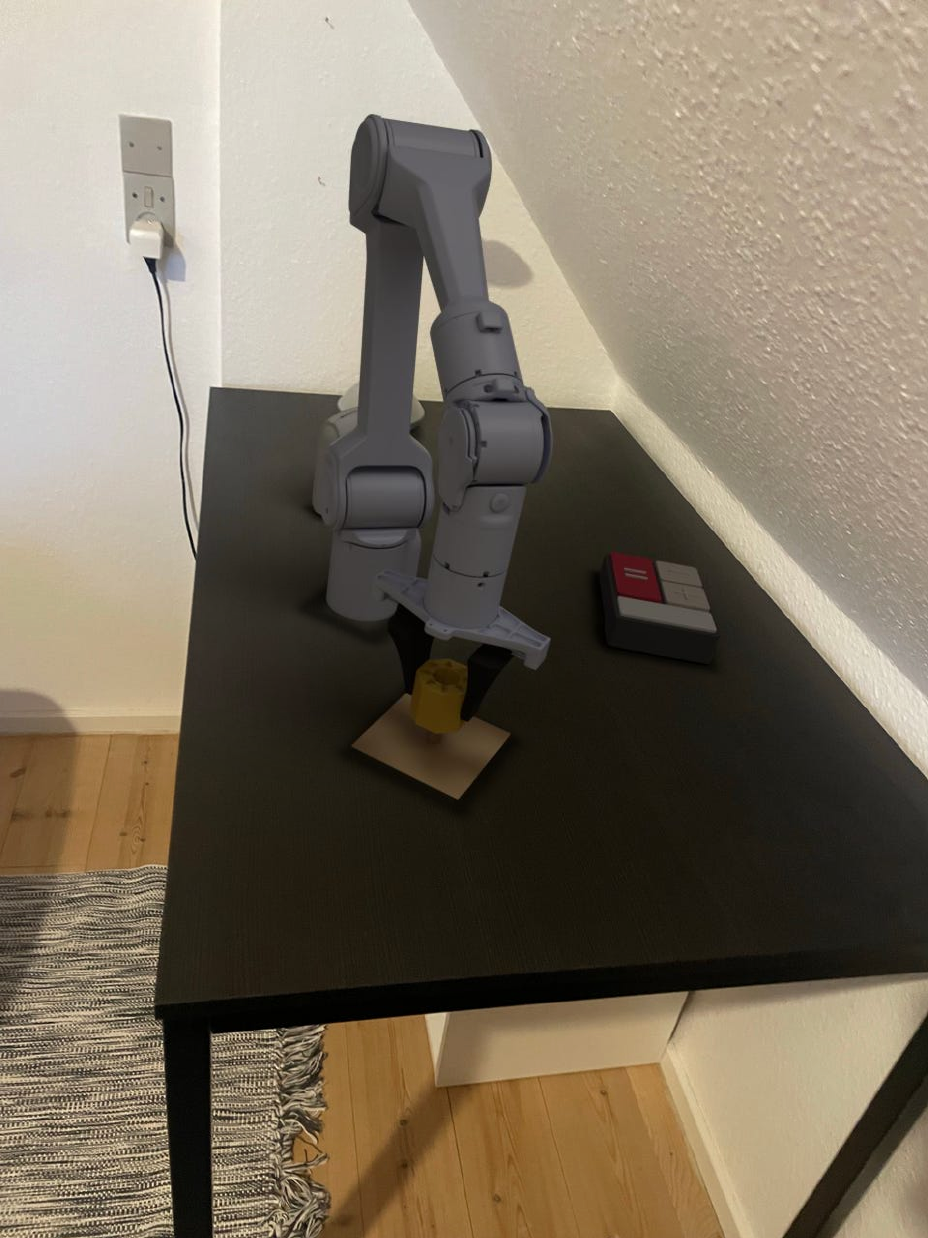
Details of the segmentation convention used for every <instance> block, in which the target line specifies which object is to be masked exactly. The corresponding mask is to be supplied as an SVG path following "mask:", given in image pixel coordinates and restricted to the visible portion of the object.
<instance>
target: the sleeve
mask: <svg viewBox="0 0 928 1238" xmlns="http://www.w3.org/2000/svg"><path fill="white" fill-rule="evenodd" d="M467 676H468V669H467V666H466V665H464V664H462V663H460V662H459V661H458V662H457V661H455V660H453V659H451V658H441V659H439V658H438V659H437V658H435V659H429V660H427V661H426V662H425V663H424V664H423V665H422V666H421V667H420V668H419V669H418V670H417V671H416V675H415V681H414V686H413V692H412V697H411V703H410V708H409V709H410V712H411V714H412V717H413V719H414V722H415V724H417V725H419V726H421V727H423V728H425V729H427V730H429V731H431V732H434V733H436V734H438V733H452V732H458V731H459V730H460V729H461V728H462V727H463V726H464V724H465V723H466V721H464V720H462V719H460V714H461V708H462V704H463V701H464V697H465V693H466V688H467Z"/></svg>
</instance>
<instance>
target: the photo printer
mask: <svg viewBox="0 0 928 1238" xmlns="http://www.w3.org/2000/svg"><path fill="white" fill-rule="evenodd" d="M357 415H358V405H357V406H353V407H349V408H347V409H344V410H342V411H338V412H337V413H335V414H333V415H332V416H330V417H328V418H327V419H325V420H324V421H323V422H322V423H321V426H320V427H319V431H318V440H317V441H318V442H317V450H316V460H315V468H314V478H313V488H312V499H311V500H312V501H311V502H312V503H311V504H312V506H313V509H314V511H315V512H316V513H317V514H318V515H320V516H321V512H320V505H319V483H320V477H321V474H322V472H323V466H324V457H325V452H326V449H327V447H328V446H329V445H330V444H331V443H333V442H334V441H336V440H337V439H339V438H340V437H342V436H343V435H345V434H346V433H347V432H349V431H350V430H352V429H353V428H354V427H355V426H356V425H357Z"/></svg>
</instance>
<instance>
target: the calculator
mask: <svg viewBox="0 0 928 1238" xmlns="http://www.w3.org/2000/svg"><path fill="white" fill-rule="evenodd" d="M598 577H599V586H600V591H601V597H602V598H601V599H602V604H603V611H604V619H605V620H604V631H605V639H606V644H607V646H609V647H611V648H617V649H622V650H628V651H634V652H637V653H644V654H650V655H655V656H660V657H665V658H666V657H667V658H671V659H677V660H682V661H687V662H693V663H699V664H704V665H710V664H711V663H712V660H713V657H714V655H715V652H716V649H717V646H718V644H719V641H720V638H721V633H720V630H719V627H718V625H717V622H716V621H717V620H716V619H715V616H714V613H713V610H712V606H711V605H710V602H709V598H708V596H707V593H706V591H705V588H704V584H703V581H702V579H701V576H700V573H699V572H698V569H697V568H696V567H694V566H690V565H684V564H680V563H679V564H678V563H674V562H669V561H662V560H655V562H652V559H650V558H646V557H642V556H636V555H631V554H625V553H622V552H621V553H620V552H614V551H610V554H609V553H606V554H605V555H604V558H603V561H602V565H601V568H600V572H599V576H598Z"/></svg>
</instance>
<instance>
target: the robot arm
mask: <svg viewBox="0 0 928 1238" xmlns="http://www.w3.org/2000/svg"><path fill="white" fill-rule="evenodd" d="M492 157H493V156H492V151H491V147H490V144H489V142H488V141H487V138H486V136H485V134H484V132H482V131H481V130H479V129H473V128H470V129H469V130H467V129H458V128H452V127H446V126H441V125H440V126H439V125H433V124H425V123H419V122H413V121H407V120H399V119H393V118H388V117H387V118H386V117H382V116H381V115H378V114H375V113H370V114H368V115H367V116H366V117H365V118H364V119H363V121H361V123H360V124H359V126H358V128H357V129H356V132H355V137H354V140H353V143H352V145H351V151H350V163H349V164H350V165H349V181H348V182H349V183H348V186H349V187H348V203H347V205H348V206H347V207H348V211H349V217H348V218H349V219H348V220H349V224H350V226H352V227H354V228H355V229H357V230H358V231H360V232H361V233H362V234H364V235H365V251H366V252H365V253H366V255H365V257H366V260H365V261H366V263H365V279H364V295H363V312H362V314H363V315H362V330H361V331H362V332H361V346H360V364H359V365H360V366H359V381H358V382H359V383H358V398H357V399H358V400H357V406H358V415H357V425H356V426H355V427H354V428H353V429H352V430H350V431H349V432H347V433H346V434H345V435H343V436H342V437H340V438H339V439H337V440H336V441H334V442H333V443H331V444H330V445H329V446H328V447H327V449H326V452H325V457H324V466H323V472H322V474H321V477H320V483H319V505H320V512H321V515H320V516H321V520H322V521H323V523H324V524H325V526H326V527H327V528H328V529H329V530H330V532H332V542H331V550H330V558H329V559H330V560H329V568H328V577H327V587H326V594H325V600H326V604H327V606H328V607H329V608H330V609H331V610H332V611H333V612H335V613H336V614H338V615H340V616H342V617H343V618H345V619H346V618H347V619H350V620H353V621H358V622H359V621H360V622H377V621H381V620H385V619H387V618H389V619H388V620H387V628H386V629H387V632H388V634H389V636H390V637H391V639H392V641H393V643H394V646H395V648H396V650H397V654H398V656H399V661H400V664H401V670H402V676H403V677H402V678H403V685H404V694H405V693H407V694H409V695H411V696H412V692H413V686H414V681H415V675H416V671H417V670H418V669H419V668H420V667H421V666H422V665H423V664H424V663H425V662H426V661H427V660H431V653H432V647H433V643H434V640H435V638H436V639H439V640H440V641H449V640H450V639H452V638H457V639H462V640H467V641H472V642H476V643H481V644H482V645H480V646H479V647H477V649H476V650H475V651H474V652H473V653H472V654H471V655H470V656H469V657H467V660H466V665H467V669H468V676H467V688H466V693H465V697H464V701H463V704H462V708H461V714H460V719H462V720H464V721H466V722H469V721H470V719H471V718H472V717H473V716H474V717H475V715H476V714H477V713H478V711H479V710H480V708H481V705H482V703H483V701H484V698H485V697H486V695H487V693H488V691H489V690H490V687H491V686H492V685H493V683H494V682H495V680H496V679H497V677H498V676H499V674H501V672H502V671H503V669H504V668H505V667H506V666H507V665H508V664H509V663H510V662H511V660H512V659H513V658H514V657H517V658H519V659H521V660H523V665H524V666H525V667H527V668H529V669H531V670H534V671H536V670H538V668H539V667H540V666H541V665H542V664H543V663H544V661H545V660H546V658H547V654H548V651H549V647H550V644H551V637H549V636H546V635H544V634H542V633H540V632H539V631H537V630H535V629H534V628H532V627H531V626H529V625H528V624H526V623H525V622H524V621H522V620H521V619H519V617H517V616H515V615H513V614H512V613H511V612H510V611H508V610H506V609H505V608H504V607H503V606H501V605H500V604H501V600H502V596H503V595H502V594H503V591H504V587H505V582H506V579H507V574H508V569H509V565H510V560H511V557H512V552H513V549H514V544H515V539H516V534H517V531H518V526H519V522H520V518H521V514H522V510H523V506H524V501H525V497H526V493H527V489H528V488H527V485H529V484H531V485H535V484H538V483H539V482H541V481H542V480H543V479H544V477H545V476H546V474H547V472H548V470H549V468H550V464H551V461H552V456H553V446H554V445H553V444H554V438H553V429H552V423H551V422H552V421H551V415H550V413H549V411H548V408H547V407H546V406H545V404H544V403H543V402H542V401H541V400H539V399H538V397H537V396H536V392H535V389H533V388H532V386H527V385H525V383H524V380H523V379H524V378H523V374H522V370H521V367H520V362H519V357H518V353H517V349H516V344H515V340H514V335H513V331H512V330H513V329H512V326H511V322H510V319H509V315H508V313H507V311H506V309H504V307H502V306H500V304H497V303H495V302H493V301H491V300H490V297H489V288H488V280H487V273H486V272H487V271H486V265H485V264H486V263H485V256H484V249H483V248H484V247H483V241H482V240H483V239H482V234H481V232H482V231H481V225H480V218H481V216H482V213H483V210H484V208H485V204H486V201H487V198H488V194H489V190H490V187H491V181H492V176H493V175H492V174H493V173H492V172H493V158H492ZM424 261H425V265H426V268H427V271H428V274H429V277H430V280H431V281H430V282H431V285H432V288H433V291H434V294H435V297H436V301H437V304H438V307H439V311H440V312H439V314H438V315H437V316H436V317H435V319H434V320H433V322H432V323H431V326H430V329H429V330H430V331H429V337H430V342H431V346H432V347H431V348H432V350H433V356H434V362H435V366H436V372H437V376H438V377H437V378H438V383H439V387H440V393H441V397H442V401H443V407H444V411H445V413H444V415H443V418H442V421H441V423H439V427H438V436H437V454H438V464H439V466H438V475H437V481H436V484H437V494H438V495H439V497H440V498H441V502H440V507H439V514H438V518H437V525H436V530H435V536H434V541H433V547H432V552H431V558H430V563H429V568H428V574H427V578H423V577H418V576H417V574H418V568H419V561H420V555H421V551H422V538H421V534H420V531H419V530H421V529H424V528H425V527H426V526H427V525H428V523H429V522H430V520H431V519H432V516H433V513H434V507H435V486H434V485H435V484H434V481H433V465H434V464H433V462H434V461H433V458H432V456H431V454H430V452H429V451H428V449H427V448H426V447H425V446H424V445H423V444H421V442H419V441H418V440H417V439H416V438H415V437H413V436H412V435H411V421H412V410H413V397H414V385H415V384H414V383H415V373H416V372H415V371H416V361H417V348H418V347H417V346H418V334H419V325H420V324H419V322H420V311H421V298H422V286H423V285H422V283H423V274H424V273H423V272H424Z"/></svg>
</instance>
